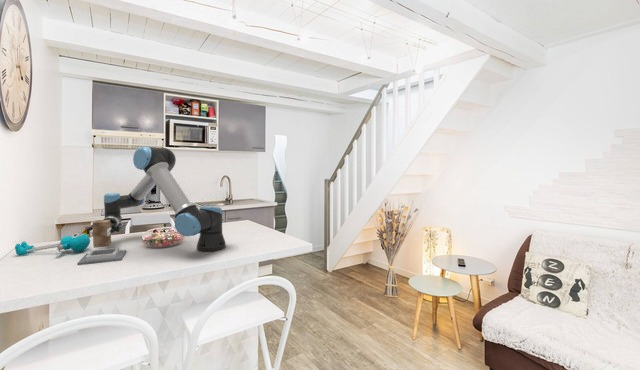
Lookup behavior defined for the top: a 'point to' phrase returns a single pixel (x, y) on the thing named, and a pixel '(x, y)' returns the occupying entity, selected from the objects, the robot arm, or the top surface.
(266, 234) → the top surface
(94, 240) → the brown wooden block
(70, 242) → the toy
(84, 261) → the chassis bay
